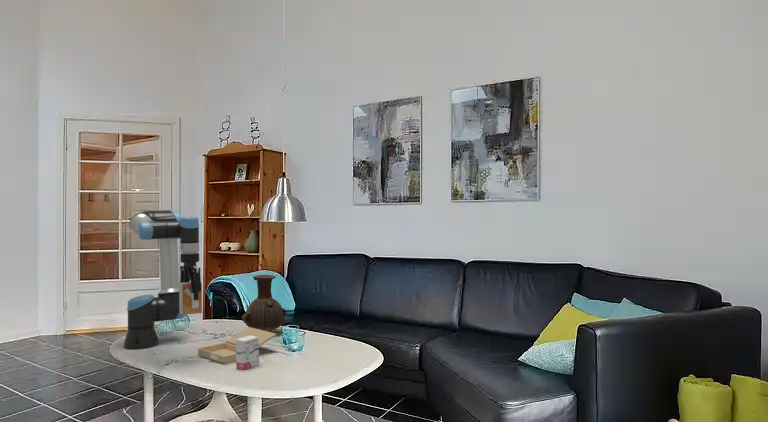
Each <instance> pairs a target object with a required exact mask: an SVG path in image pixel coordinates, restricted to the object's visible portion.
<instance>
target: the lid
mask: <svg viewBox="0 0 768 422" xmlns="http://www.w3.org/2000/svg"><path fill="white" fill-rule="evenodd" d="M246 336H256V337H259V347H261V346H262V345H264V344H265V343H267V342H268V341H270V340H271V339H272V338H274V337H276V336H277V333H275V332H272V331H271V332H267V331H263V330H259V329H255V328H251V327H248V326H247V327H246V328H245V329H244V330H241V331H240V332H238V333H237V334H235V335H234V336H231V337H230V338H229V339H227V340H225V341H224V343H228V344H231V345H235V346H236V340H237V339H239V338H242V337H246Z"/></svg>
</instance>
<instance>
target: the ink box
mask: <svg viewBox="0 0 768 422" xmlns="http://www.w3.org/2000/svg"><path fill="white" fill-rule="evenodd" d="M235 346H236V366H235V368H236V369H238V370H243V371H246V370H248V369H250V368H251V369H252V368H254V367H257V366H259V365H260V349H259V348H260V346H259V337H256V336H246V337H242V338H239V339H237V340H236V345H235Z"/></svg>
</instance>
